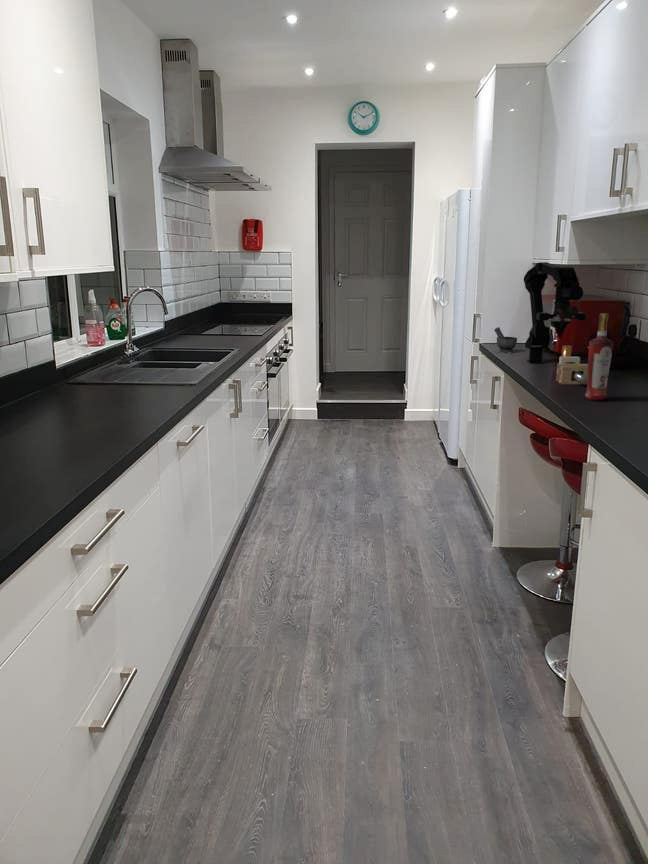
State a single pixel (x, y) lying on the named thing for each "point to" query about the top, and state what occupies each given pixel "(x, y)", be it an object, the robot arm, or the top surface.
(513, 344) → the mortar and pestle
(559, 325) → the robot arm
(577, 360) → the spacer
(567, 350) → the shaft
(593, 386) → the liquor
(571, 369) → the bearing block
